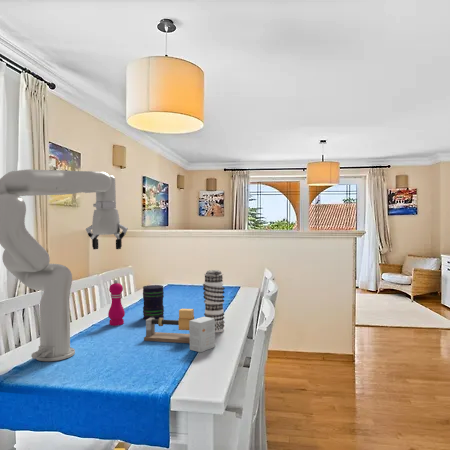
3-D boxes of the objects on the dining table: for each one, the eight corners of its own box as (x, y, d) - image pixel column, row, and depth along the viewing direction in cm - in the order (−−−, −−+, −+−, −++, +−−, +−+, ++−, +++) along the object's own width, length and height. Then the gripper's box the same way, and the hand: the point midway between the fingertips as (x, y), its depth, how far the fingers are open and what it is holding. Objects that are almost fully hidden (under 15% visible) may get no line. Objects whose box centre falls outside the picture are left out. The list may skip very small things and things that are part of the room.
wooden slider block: (191, 330, 153) (190, 311, 153) (178, 329, 154) (178, 310, 154) (194, 327, 157) (194, 308, 157) (182, 326, 158) (182, 308, 158)
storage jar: (160, 314, 199) (159, 284, 199) (166, 318, 191) (166, 287, 190) (140, 316, 194) (140, 286, 194) (146, 321, 186) (146, 289, 186)
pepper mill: (120, 326, 177) (119, 281, 177) (105, 325, 179) (104, 280, 178) (127, 322, 184) (126, 278, 184) (113, 321, 186) (112, 278, 186)
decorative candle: (200, 328, 172) (199, 270, 172) (220, 326, 175) (220, 268, 175) (207, 333, 164) (206, 272, 163) (228, 331, 167) (227, 271, 167)
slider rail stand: (198, 343, 150) (198, 322, 150) (143, 340, 155) (143, 319, 155) (204, 337, 158) (204, 317, 158) (152, 334, 163) (151, 315, 163)
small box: (204, 344, 150) (203, 316, 149) (215, 347, 146) (215, 318, 146) (189, 349, 143) (188, 320, 143) (200, 352, 140) (200, 322, 140)
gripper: (81, 206, 157) (82, 250, 158) (122, 205, 155) (123, 249, 155) (90, 206, 165) (91, 248, 165) (130, 206, 162) (131, 248, 162)
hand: (107, 249), depth 160 cm, fingers open, 9 cm apart
